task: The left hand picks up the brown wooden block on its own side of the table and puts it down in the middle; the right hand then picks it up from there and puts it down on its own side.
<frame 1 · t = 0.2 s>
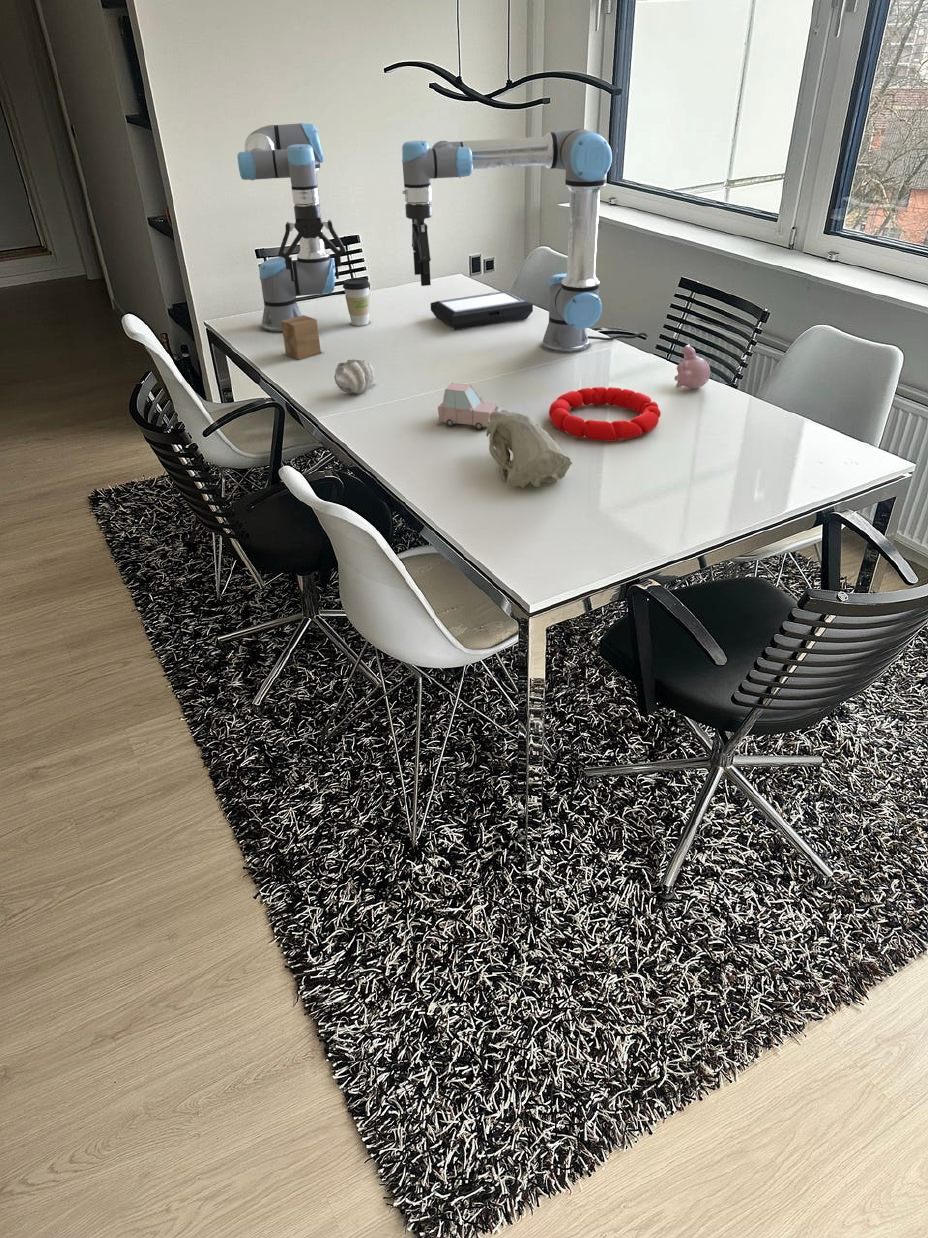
left hand: (315, 279, 274), 27 cm above the table, tool pointing down, fingers open, 13 cm apart
right hand: (422, 279, 266), 28 cm above the table, tool pointing down, fingers open, 13 cm apart
brown wooden block: (303, 353, 300), on the table
animal skull: (520, 470, 220), on the table
figurine: (690, 388, 263), on the table
toy car: (468, 423, 246), on the table
decorative ring: (603, 422, 244), on the table
coffee cup: (360, 323, 327), on the table
electronic device: (481, 319, 327), on the table
seashell: (356, 393, 268), on the table
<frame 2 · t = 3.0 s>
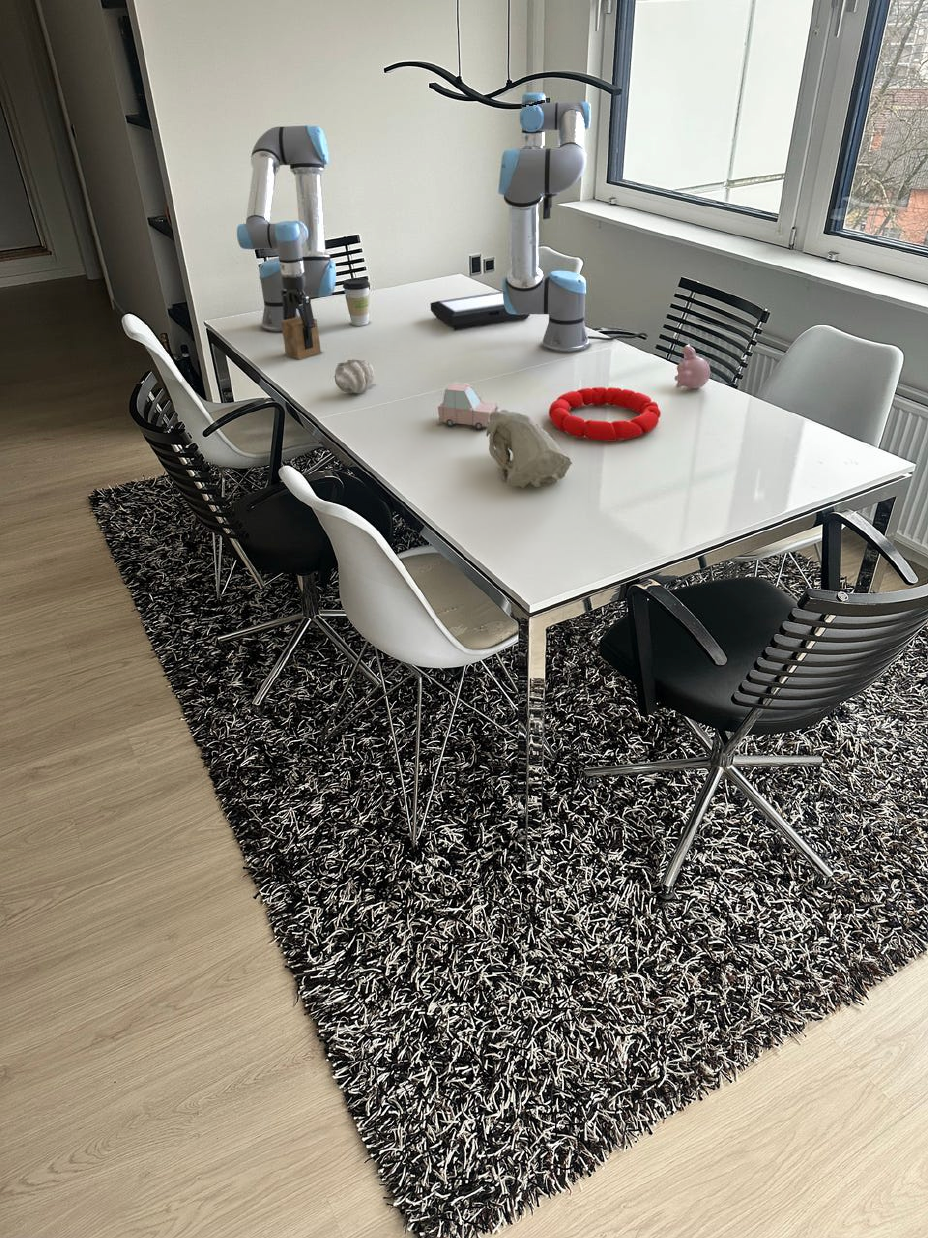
left hand: (302, 345, 298), 3 cm above the table, tool pointing down, fingers closed on brown wooden block, 8 cm apart
right hand: (532, 216, 306), 35 cm above the table, tool pointing down, fingers open, 13 cm apart
brown wooden block: (303, 353, 300), on the table, touching left hand
everything else where it was.
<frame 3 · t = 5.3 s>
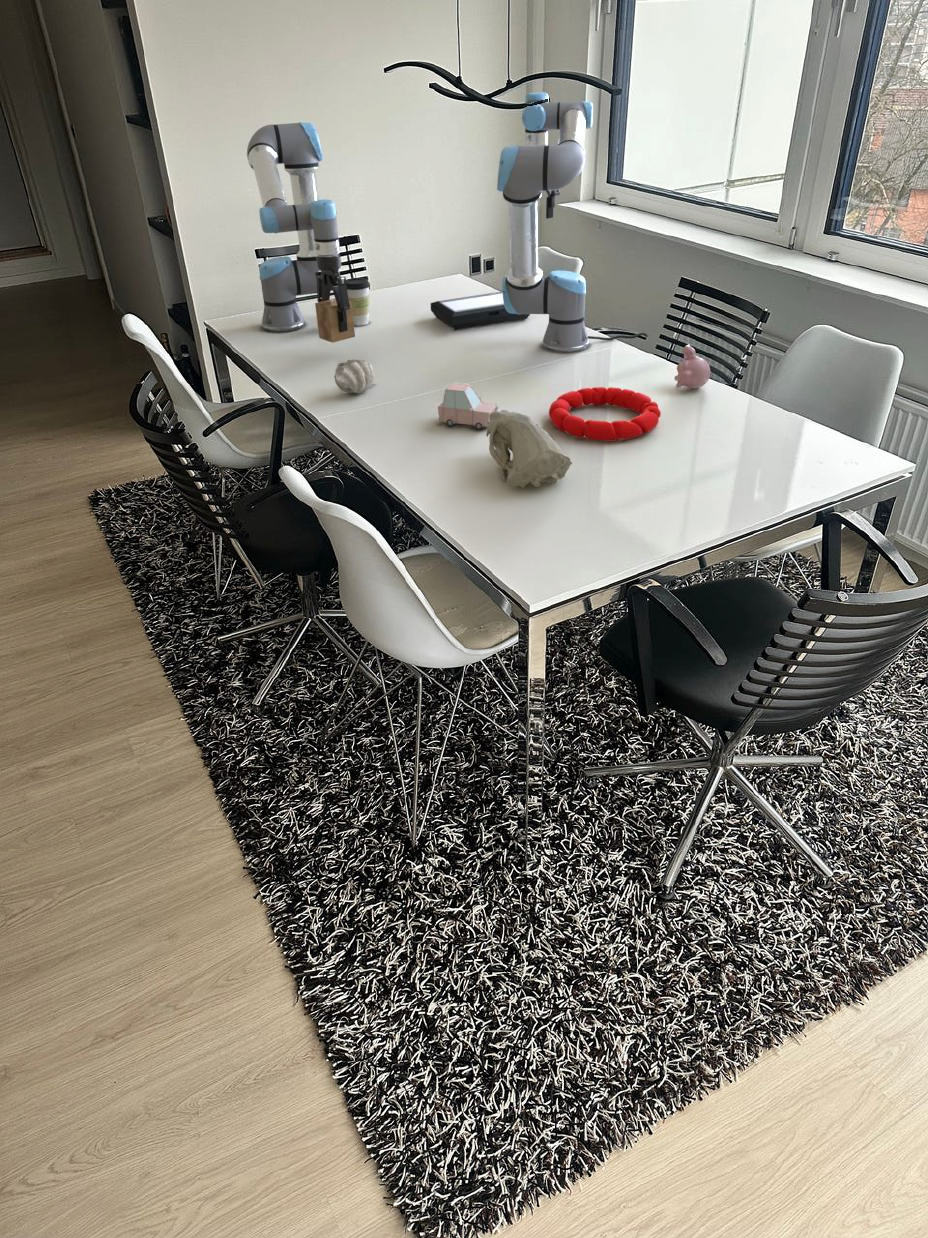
left hand: (336, 328, 290), 10 cm above the table, tool pointing down, fingers closed on brown wooden block, 8 cm apart
right hand: (535, 215, 308), 35 cm above the table, tool pointing down, fingers open, 13 cm apart
brown wooden block: (337, 337, 292), point 7 cm above the table, touching left hand
everything else where it was.
when the left hand's fingers open (5 cm above the table, at t = 8.1 s): brown wooden block drops 2 cm, on the table.
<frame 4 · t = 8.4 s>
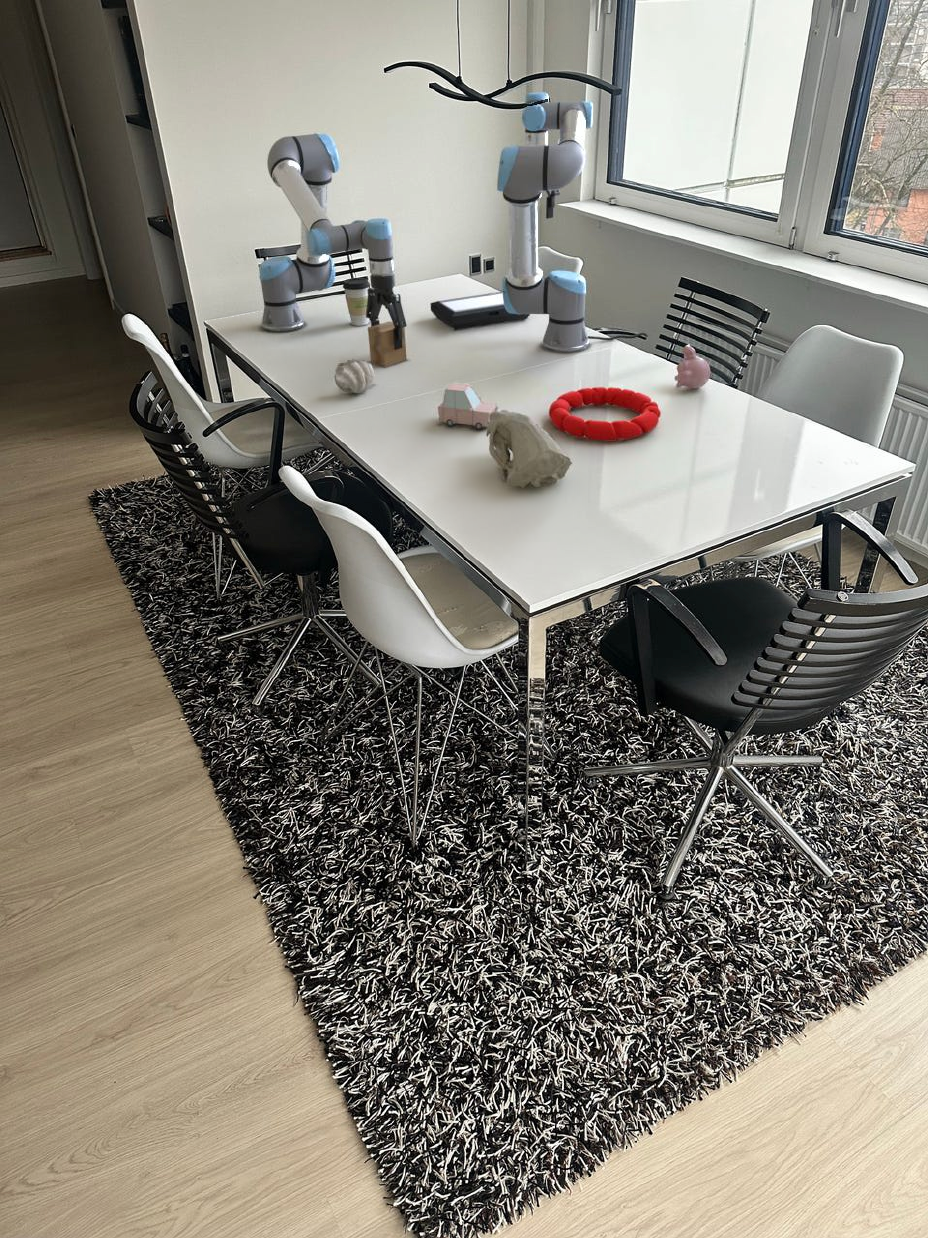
left hand: (387, 344, 288), 5 cm above the table, tool pointing down, fingers open, 10 cm apart
right hand: (535, 215, 308), 35 cm above the table, tool pointing down, fingers open, 13 cm apart
brown wooden block: (388, 361, 291), on the table
everything else where it was.
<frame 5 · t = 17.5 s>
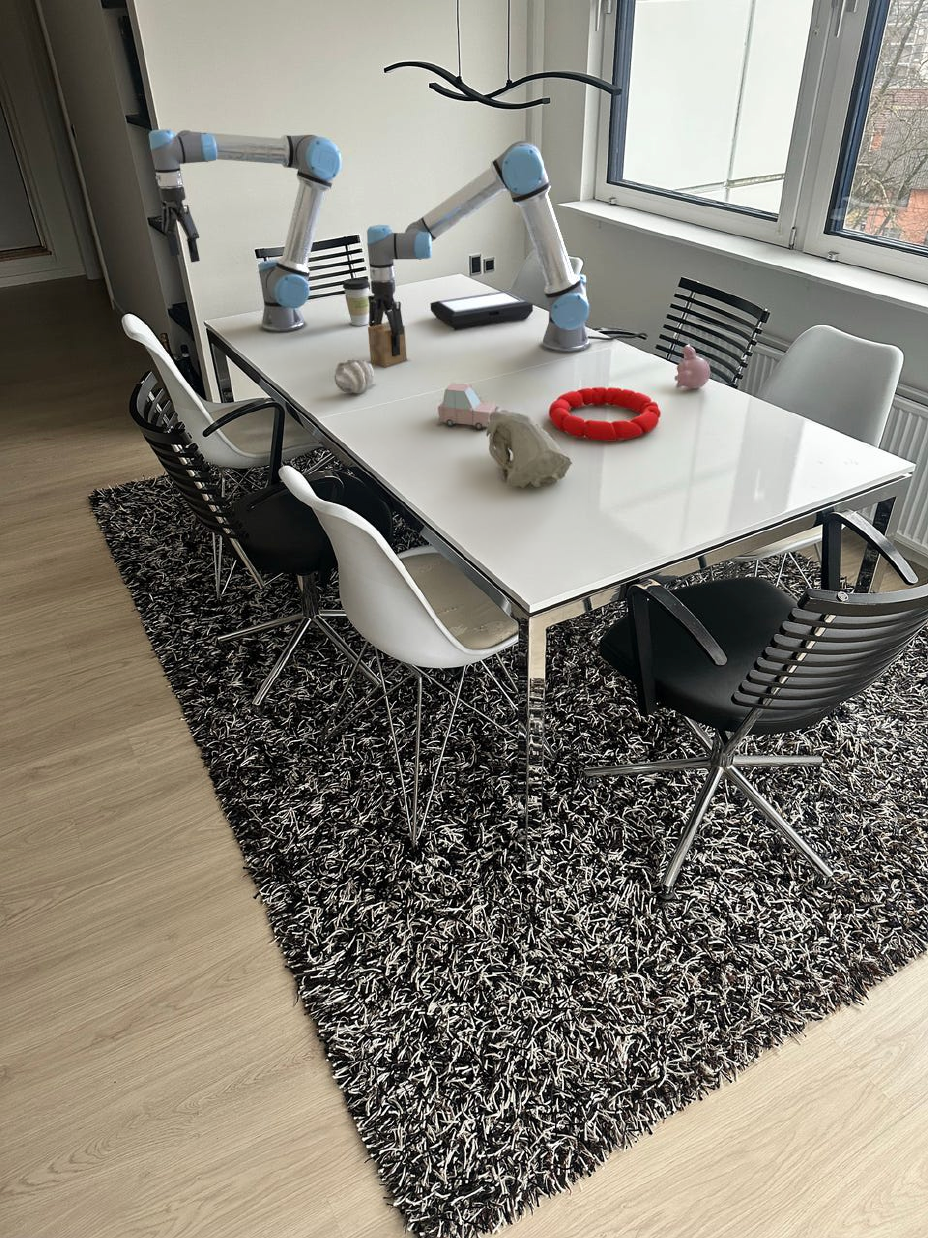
left hand: (185, 258, 289), 30 cm above the table, tool pointing down, fingers open, 13 cm apart
right hand: (388, 352, 290), 3 cm above the table, tool pointing down, fingers closed on brown wooden block, 8 cm apart
brown wooden block: (388, 361, 291), on the table, touching right hand
everything else where it was.
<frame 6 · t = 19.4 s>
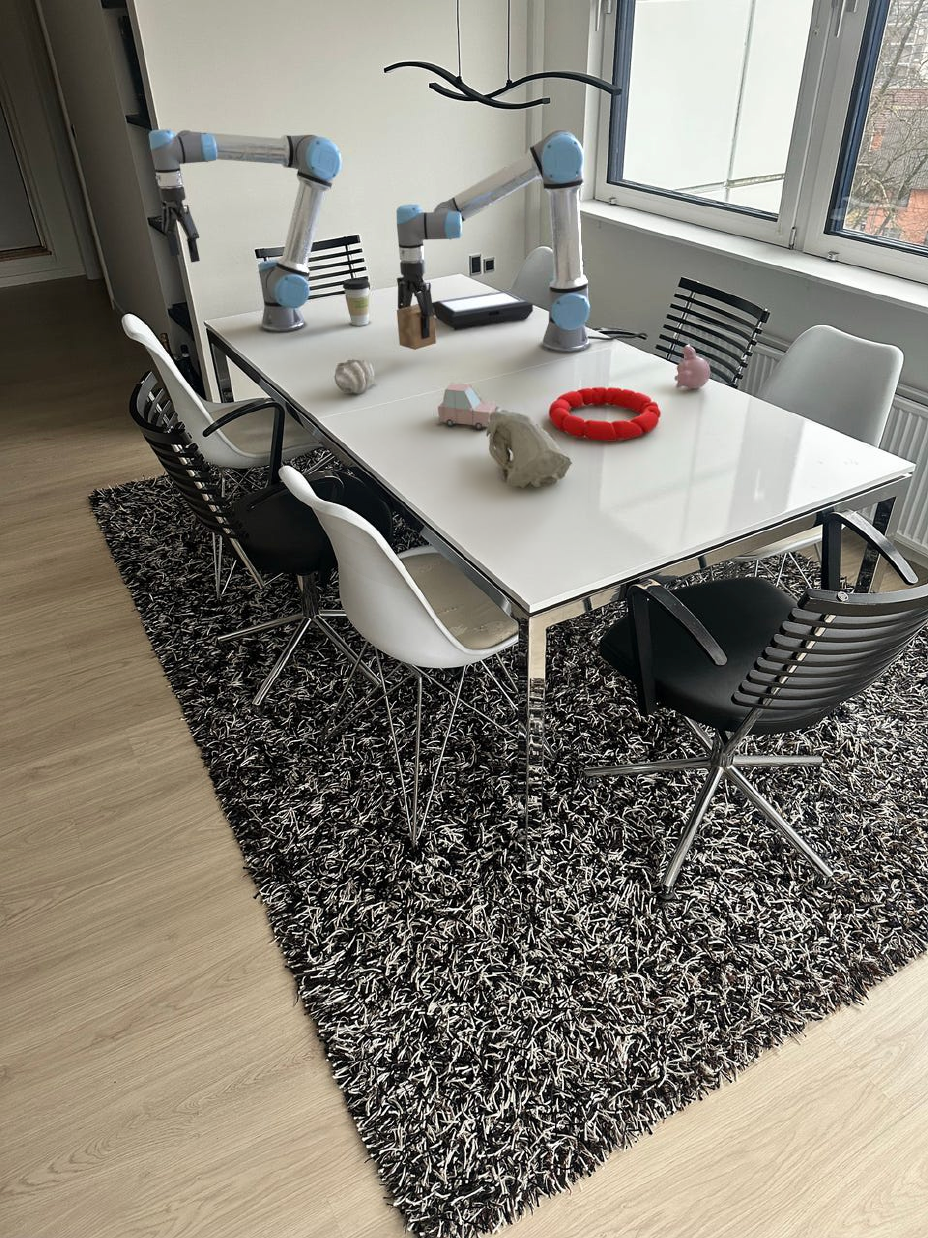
left hand: (185, 258, 289), 30 cm above the table, tool pointing down, fingers open, 13 cm apart
right hand: (417, 335, 286), 8 cm above the table, tool pointing down, fingers closed on brown wooden block, 8 cm apart
brown wooden block: (417, 344, 287), point 6 cm above the table, touching right hand
everything else where it was.
when the right hand's fingers open (5 cm above the table, at t = 21.6 s): brown wooden block drops 2 cm, on the table.
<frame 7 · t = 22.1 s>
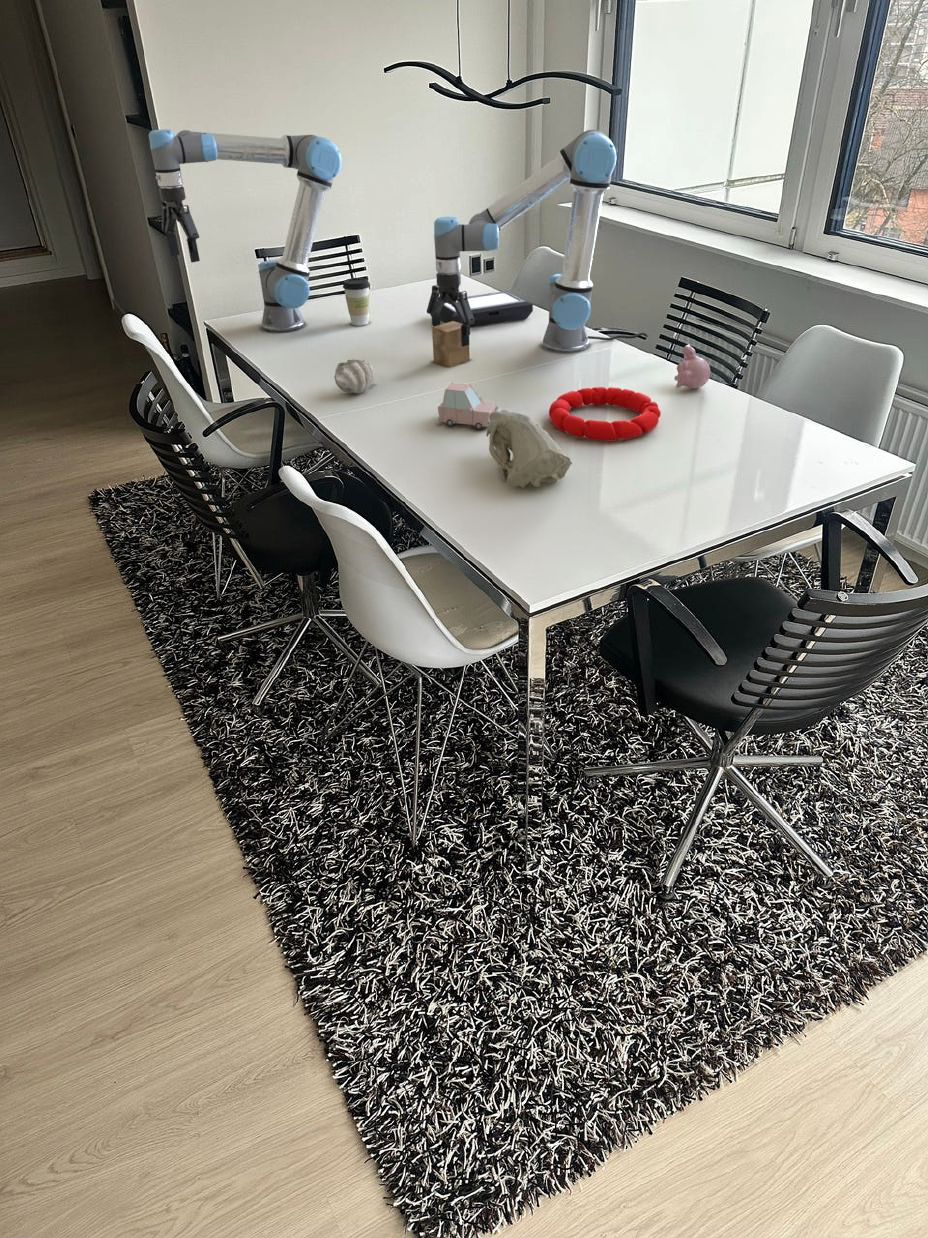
left hand: (185, 258, 289), 30 cm above the table, tool pointing down, fingers open, 13 cm apart
right hand: (451, 341, 286), 6 cm above the table, tool pointing down, fingers open, 13 cm apart
brown wooden block: (451, 361, 290), on the table
everything else where it was.
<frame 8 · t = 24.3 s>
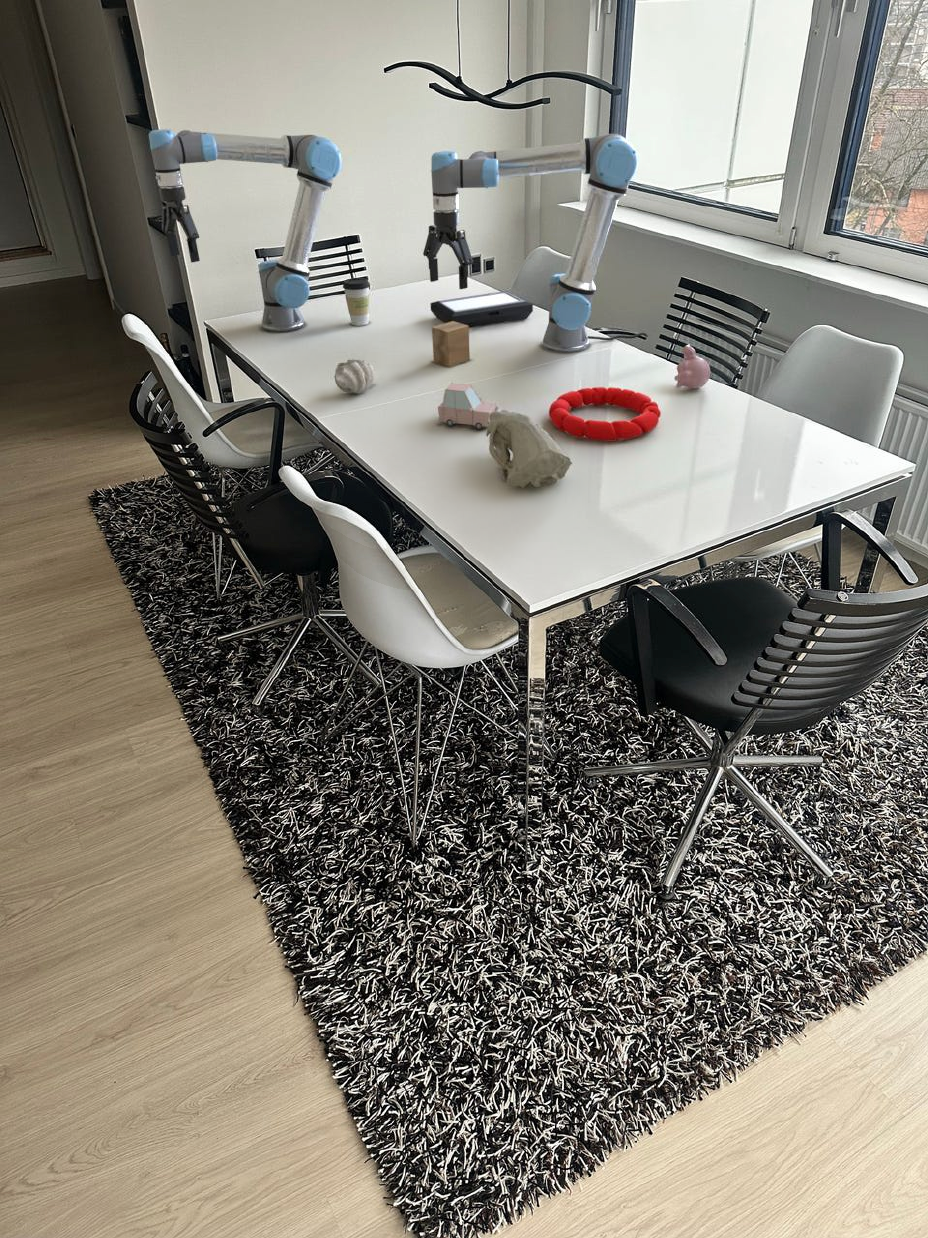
left hand: (185, 258, 289), 30 cm above the table, tool pointing down, fingers open, 13 cm apart
right hand: (448, 284, 276), 24 cm above the table, tool pointing down, fingers open, 13 cm apart
nothing on the table moved.
at the end: brown wooden block inside the target area (0.1 cm from its centre), on the table; brown wooden block tilted 0°; the two hands never held the brown wooden block at the same time; the left hand is holding nothing; the right hand is holding nothing; brown wooden block at rest at the end (0.0 cm/s) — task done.
